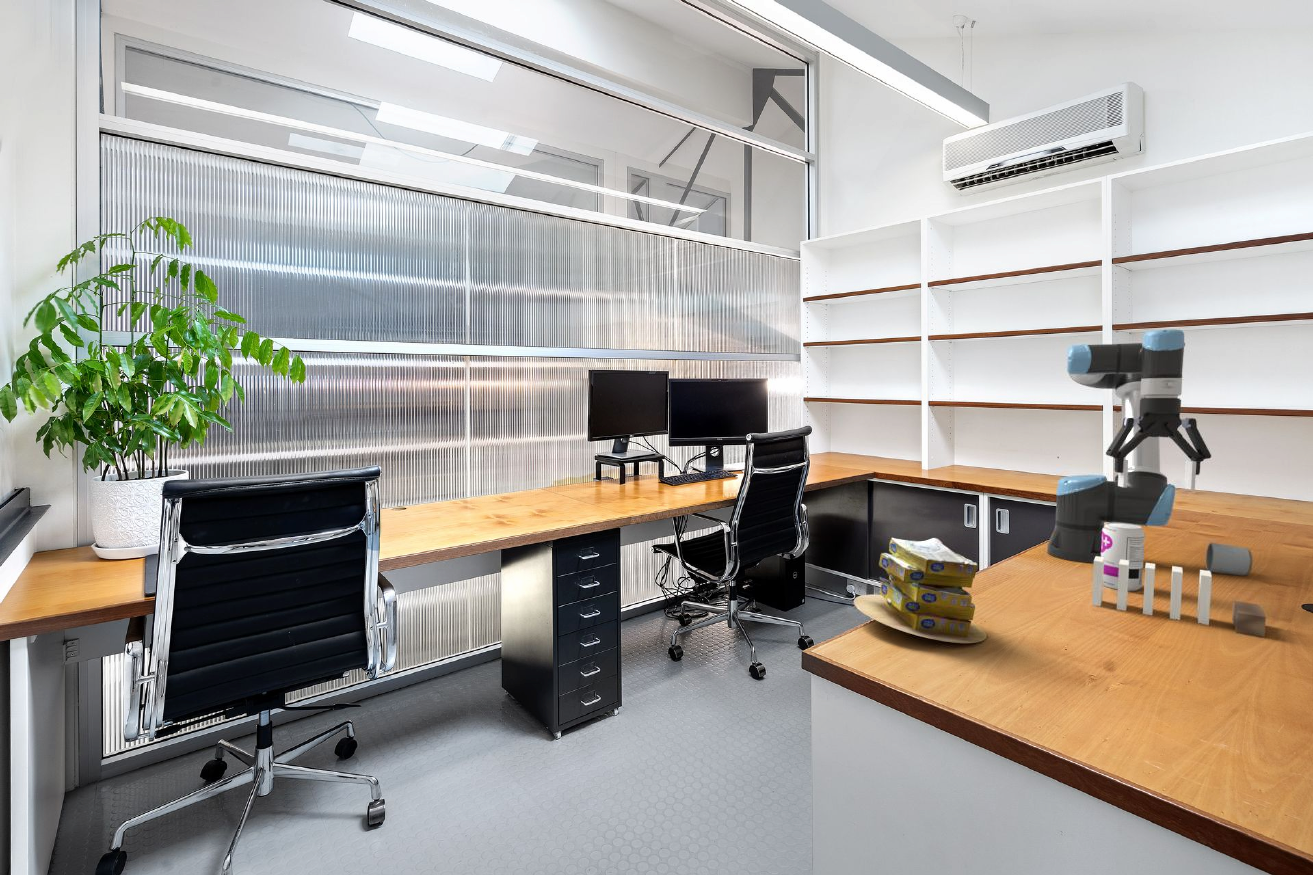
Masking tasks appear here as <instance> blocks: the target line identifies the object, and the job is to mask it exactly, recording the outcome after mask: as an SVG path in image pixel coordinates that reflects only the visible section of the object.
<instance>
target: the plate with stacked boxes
mask: <svg viewBox="0 0 1313 875" xmlns="http://www.w3.org/2000/svg"><path fill="white" fill-rule="evenodd" d="M888 551H889V553H887V552H881V553H880V555H879V556H880V558H879V562H878V566H879V567H880V568H882V569H884V570H885V571H886V574H888V576H889V579H886V578H883V577H881V576H879V580H880V582H881V583H880V588H879V594H863V595H859V596H856V597H855V598H854V600H853V605H854V606H855V607H856V608H857V609H858V610H859V612H861V613H862V614H864V615H866V616H867V617H869V618H871V619H873V620H875V621H877V622H879V623H881V624H883V625H885V626H888V627H890V628H893V629H896V630H899V631H902V632H905V633H907V634H912V635H915V636H918V637H921V638H922V637H923V638H927V639H930V640H931V639H932V640H937V641H941V642H947V643H948V642H949V643H955V644H956V643H957V644H958V643H959V644H973V643H980V642H983V641H985V640H986V639H987V633H986V632H985V631H984V630H983V629H982V628H981V627H979V625H977V624H976V623H975V622H974V621H973V620H974V616H975V611H976V605H975V603H973V602H972V597H973V596H972V595H971V593H969V592H968V591H967V590H965V589H963V588H969V589H972V588H973V587H972V586H973V581H974V579H975V577H976V574H977V570H978V567H979V566H978V563H977V562H976V561H975V562H974V561H973V560H971V559H969V558H966V557H964V556H963V555H961V554H959V553H956V552H955V551H953V550H951V549H950V548H949V547H947V546H946V545H944V544H943V542H942V541H941V540H940V539H939V538H937V537H932V538H930V539H927V540H923V541H922V540H908V539H900V538H894V537H891V539H890V541H889V549H888Z"/></svg>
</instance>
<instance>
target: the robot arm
mask: <svg viewBox="0 0 1313 875" xmlns="http://www.w3.org/2000/svg"><path fill="white" fill-rule="evenodd" d="M1142 339H1143V341H1142V342H1135V343H1128V342H1127V343H1108V344H1107V343H1106V344H1105V343H1103V344H1087V343H1086V344H1078V345H1076V344H1075V345H1071V346H1070V347H1068V349H1067V367H1066V370H1067V373H1068V375H1069V377H1070V378H1071V379H1072V381H1074V382H1075V383H1077V384H1079V385H1081V386H1086V387H1088V388H1093V389H1100V390H1101V389H1102V390H1104V389H1107V390H1108V389H1109V390H1111V389H1112V390H1115V391H1114V392H1115V395H1116V397H1118V398H1119V399H1121V427H1120V429H1119V431H1118V433H1117V434H1116V436H1115V438H1114V439H1113V440H1112V442H1111V443H1110V445H1109V447H1108V448H1107V450H1106V451H1105V455H1106V456H1108V457H1111V458H1114V472H1115V473H1117V474H1115V476H1114V480H1113V481H1112V480H1111V481H1110V480H1108V478H1107V476H1106V475H1104V474H1103V475H1102V474H1082V475H1080V474H1078V475H1071V476H1065V477H1062V478H1060V479H1058V482H1057V486H1056V488H1057V489H1056V492H1055V495H1056V506H1055V507H1056V508H1055V527H1054V529H1053V531H1052V534H1051V536H1050V538H1049V541H1048V543H1047V548H1046V549H1047V550H1046V552H1047V554H1048V555H1050V556H1052V557H1055V558H1059V559H1062V560H1068V561H1069V560H1070V561H1075V562H1080V563H1081V562H1082V563H1094V559H1095V557H1096V556H1099V557H1101V545H1102V529H1103V528H1104V527H1105V523H1126V524H1133V525H1138V526H1141V527H1142V526H1144V527H1164V526H1166V525H1168V523H1169V522H1170V519H1171V516H1172V511H1173V508H1174V503H1175V498H1176V486H1175V485H1174V484H1171V483H1168V477H1167V476H1166V475H1165V474H1164V473H1162V472H1161V465H1160V464H1161V461H1160V460H1161V458H1160V456H1161V454H1160V438H1170V439H1171V440H1172V441H1173V442H1174V444H1176V445H1177V446H1178V448H1179V449H1180V450H1181V451H1182V452H1183V453H1184V454H1185V456H1187V457H1188V459H1189V460H1185V470H1184V483H1183V486H1184V487H1183V488H1184V489H1186V490H1193V491H1195V489H1196V476H1200V474H1201V462H1204V460H1207V459H1211V458H1212V454H1211V452H1210V450H1209V448H1208V446H1207V444H1206V443H1205V440H1204V439H1203V437H1202V435H1201V433H1200V431H1199V429H1198V424H1197V422H1198V421H1197V419H1196V418H1191V417H1186V418H1184V419H1181V413H1182V412H1181V411H1182V399H1181V398H1180V396H1181V395H1182V393H1183V392H1182V389H1183V388H1182V387H1183V368H1184V366H1183V365H1184V356H1185V355H1184V353H1185V346H1186V343H1185V332H1184V331H1183V330H1180V329H1155V330H1149V331H1147V332H1145V333H1144V334H1143V338H1142ZM1181 426H1182V427H1183V428H1184V430H1185V432H1186V434H1187V436H1188V437H1189V440H1190V442H1191V443H1192V445H1193V446H1192V445H1191V444H1190V443H1189V442H1188V441H1187V440H1186V438H1185V437H1184V436H1183V434H1182V433H1181V432H1180V431H1179V428H1180V427H1181Z"/></svg>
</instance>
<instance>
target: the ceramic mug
mask: <svg viewBox="0 0 1313 875" xmlns="http://www.w3.org/2000/svg"><path fill="white" fill-rule="evenodd" d="M1253 559H1254V558H1253V553H1252V551H1251V550H1250V549H1248V548H1246V547H1241V546H1235V545H1230V544H1222V543H1216V542H1210V543H1208V545H1207V550H1206V553H1205V568H1206V571H1210V572H1211V573H1214V574H1215V573H1217V574H1224V575H1226V574H1227V575H1233V576H1234V575H1235V576H1248V575H1249V574H1251V572H1252V570H1253V561H1254V560H1253Z"/></svg>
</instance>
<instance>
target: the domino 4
mask: <svg viewBox="0 0 1313 875" xmlns="http://www.w3.org/2000/svg"><path fill="white" fill-rule="evenodd" d="M1183 574H1184V572H1183V567H1180V566H1173V565H1172V568H1171V584H1170V586H1171V587H1170V599H1169V600H1170V601H1169V603H1170V604H1169V619H1172V620H1176V619H1177V620H1176V621H1180V620H1181V610H1182V609H1181V608H1182V590H1183V589H1182V588H1183Z"/></svg>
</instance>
